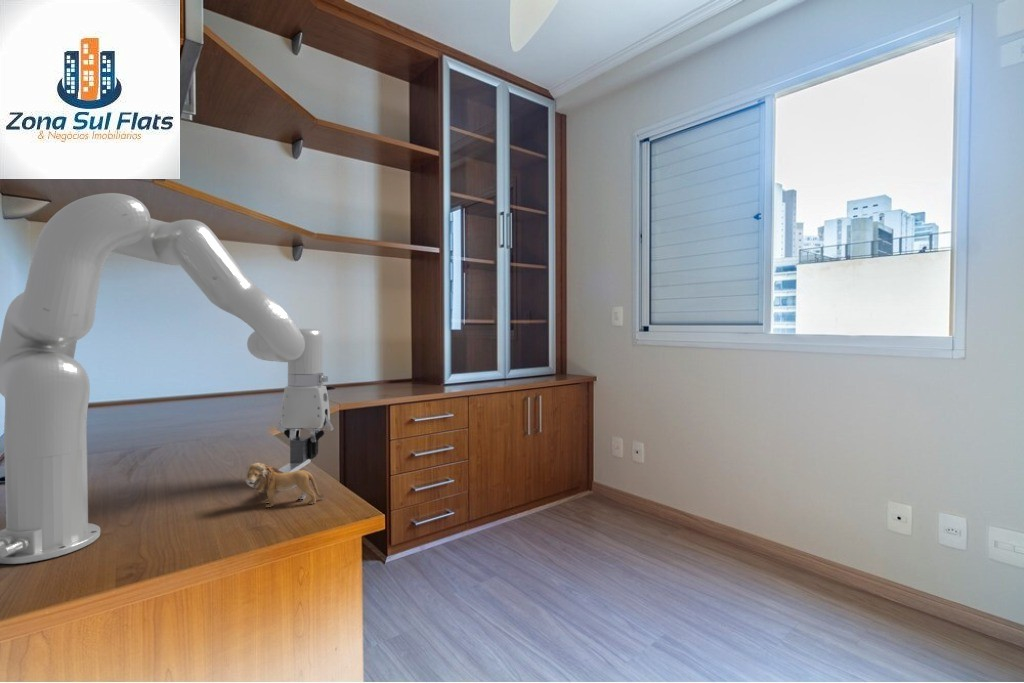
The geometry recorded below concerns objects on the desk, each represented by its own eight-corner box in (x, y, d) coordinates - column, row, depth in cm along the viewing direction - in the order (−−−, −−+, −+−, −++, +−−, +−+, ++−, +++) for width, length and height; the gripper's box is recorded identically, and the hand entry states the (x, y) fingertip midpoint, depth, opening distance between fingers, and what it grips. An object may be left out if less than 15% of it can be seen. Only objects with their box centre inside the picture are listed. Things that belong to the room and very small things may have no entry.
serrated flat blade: (298, 461, 112) (298, 436, 112) (310, 461, 112) (310, 436, 112) (267, 480, 98) (267, 452, 98) (281, 481, 98) (281, 452, 98)
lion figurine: (243, 513, 92) (243, 467, 91) (246, 503, 96) (246, 460, 96) (325, 503, 97) (325, 460, 97) (324, 494, 102) (324, 453, 102)
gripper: (345, 379, 116) (344, 454, 116) (278, 378, 116) (278, 452, 117) (333, 383, 108) (333, 462, 109) (262, 382, 108) (262, 461, 109)
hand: (305, 456), depth 113 cm, fingers closed on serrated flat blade, 3 cm apart
